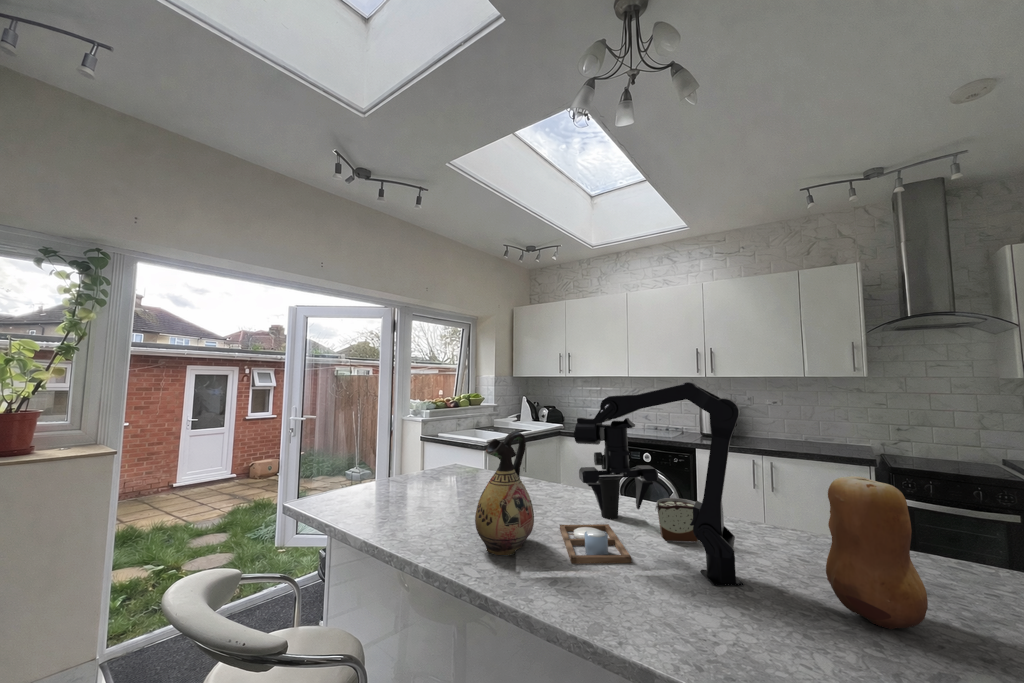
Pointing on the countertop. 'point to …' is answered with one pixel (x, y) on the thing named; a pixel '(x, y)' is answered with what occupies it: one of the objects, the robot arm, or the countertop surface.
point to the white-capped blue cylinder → (596, 542)
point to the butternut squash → (873, 553)
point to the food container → (676, 519)
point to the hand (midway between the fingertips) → (619, 509)
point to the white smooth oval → (582, 532)
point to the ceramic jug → (505, 501)
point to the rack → (594, 558)
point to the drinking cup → (610, 497)
